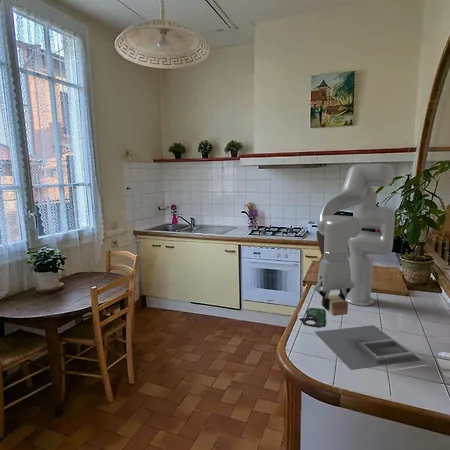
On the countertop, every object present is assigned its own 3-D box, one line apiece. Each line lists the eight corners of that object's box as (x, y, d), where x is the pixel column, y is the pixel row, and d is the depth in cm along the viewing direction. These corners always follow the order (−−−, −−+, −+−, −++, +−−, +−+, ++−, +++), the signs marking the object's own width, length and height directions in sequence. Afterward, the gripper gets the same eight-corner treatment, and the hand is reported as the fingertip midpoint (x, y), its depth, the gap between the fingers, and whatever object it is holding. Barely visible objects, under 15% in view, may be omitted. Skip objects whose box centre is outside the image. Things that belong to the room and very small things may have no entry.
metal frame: (358, 347, 105) (358, 342, 105) (393, 342, 108) (393, 338, 107) (376, 362, 97) (376, 358, 96) (413, 357, 99) (414, 353, 99)
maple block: (320, 304, 114) (320, 293, 113) (333, 303, 115) (333, 292, 114) (333, 315, 105) (334, 304, 105) (347, 314, 106) (347, 302, 106)
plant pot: (312, 252, 232) (313, 230, 229) (332, 251, 233) (333, 229, 231) (320, 257, 217) (321, 234, 214) (341, 256, 218) (342, 233, 216)
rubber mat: (314, 332, 116) (314, 331, 116) (373, 326, 120) (373, 325, 120) (350, 371, 93) (350, 369, 93) (421, 361, 98) (422, 359, 98)
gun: (301, 306, 136) (326, 308, 133) (301, 309, 136) (326, 312, 133) (298, 323, 121) (326, 326, 118) (298, 327, 121) (325, 330, 118)
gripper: (352, 251, 112) (349, 300, 115) (306, 255, 109) (305, 305, 112) (365, 257, 105) (362, 309, 108) (317, 261, 102) (315, 315, 105)
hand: (333, 306), depth 110 cm, fingers closed on maple block, 5 cm apart
